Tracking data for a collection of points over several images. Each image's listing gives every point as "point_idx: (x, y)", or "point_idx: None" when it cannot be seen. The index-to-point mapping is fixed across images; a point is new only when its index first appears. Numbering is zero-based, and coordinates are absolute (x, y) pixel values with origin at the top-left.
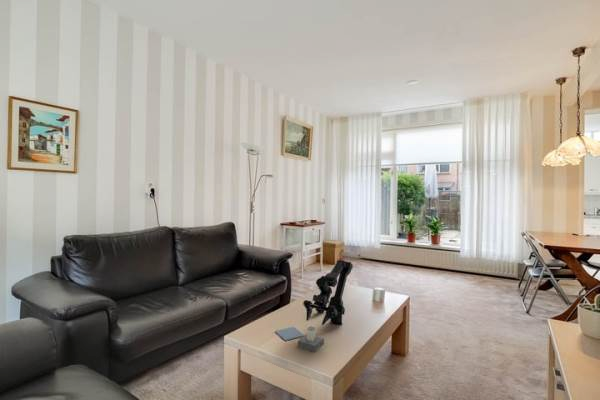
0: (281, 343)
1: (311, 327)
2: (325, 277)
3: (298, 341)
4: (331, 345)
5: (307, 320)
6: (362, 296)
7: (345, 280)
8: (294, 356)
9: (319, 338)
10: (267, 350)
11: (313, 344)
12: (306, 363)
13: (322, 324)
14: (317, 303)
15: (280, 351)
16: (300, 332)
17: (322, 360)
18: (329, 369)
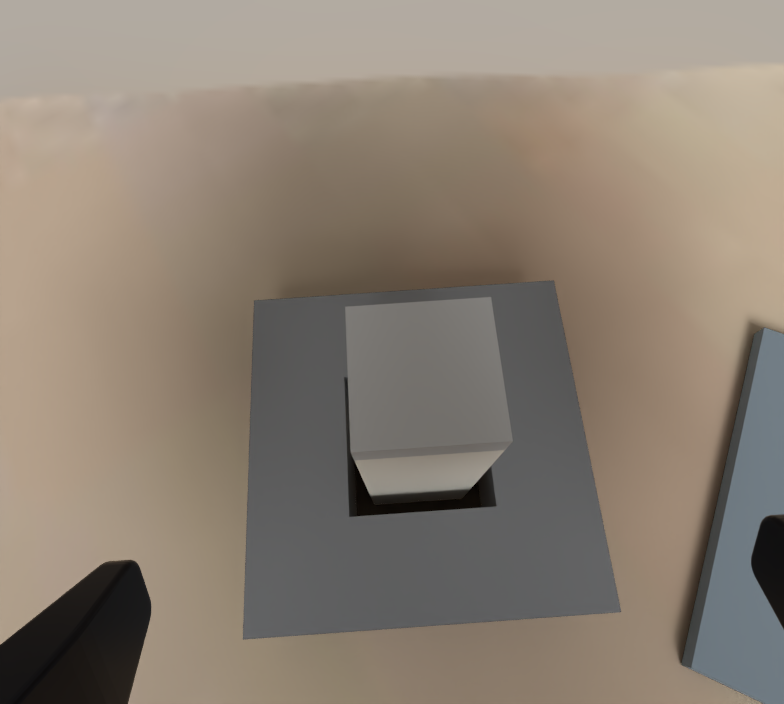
0: (739, 262)
1: (436, 392)
2: None
3: (538, 286)
4: (139, 666)
5: (761, 562)
6: None
7: None
8: (420, 145)
9: (311, 568)
10: (713, 81)
11: (298, 326)
12: (248, 121)
13: (111, 561)
14: None
15: (601, 135)
16: None
17: (122, 246)
18: (4, 162)
